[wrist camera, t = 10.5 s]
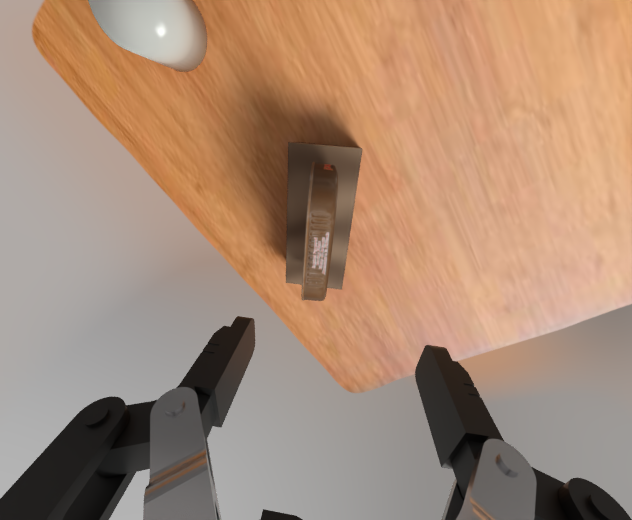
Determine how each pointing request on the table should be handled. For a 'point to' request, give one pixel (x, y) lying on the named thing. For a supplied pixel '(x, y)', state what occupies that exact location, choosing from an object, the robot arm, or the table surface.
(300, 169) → the brown rectangular block
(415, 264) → the table surface
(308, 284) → the tin
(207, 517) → the robot arm
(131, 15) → the white rounded capsule
